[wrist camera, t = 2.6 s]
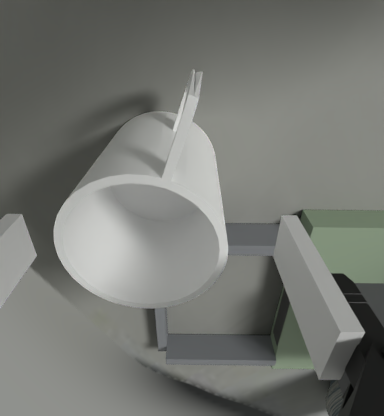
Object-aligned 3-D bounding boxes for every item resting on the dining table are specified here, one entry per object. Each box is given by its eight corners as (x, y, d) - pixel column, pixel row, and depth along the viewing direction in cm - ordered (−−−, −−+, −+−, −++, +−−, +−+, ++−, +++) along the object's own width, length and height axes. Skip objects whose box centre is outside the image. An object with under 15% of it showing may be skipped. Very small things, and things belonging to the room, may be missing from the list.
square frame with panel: (148, 207, 24) (121, 313, 15) (445, 211, 24) (592, 319, 15) (160, 346, 35) (148, 455, 26) (365, 349, 35) (424, 459, 26)
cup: (256, 80, 19) (306, 124, 10) (194, 221, 25) (194, 321, 16) (134, 31, 17) (74, 35, 9) (101, 193, 23) (47, 287, 15)
